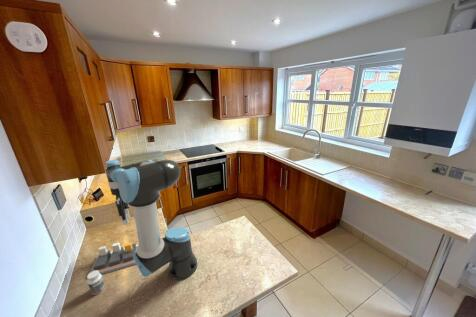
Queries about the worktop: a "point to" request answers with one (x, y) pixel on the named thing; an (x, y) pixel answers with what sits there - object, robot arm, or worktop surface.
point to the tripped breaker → (128, 247)
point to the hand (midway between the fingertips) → (126, 221)
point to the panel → (113, 259)
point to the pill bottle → (95, 282)
